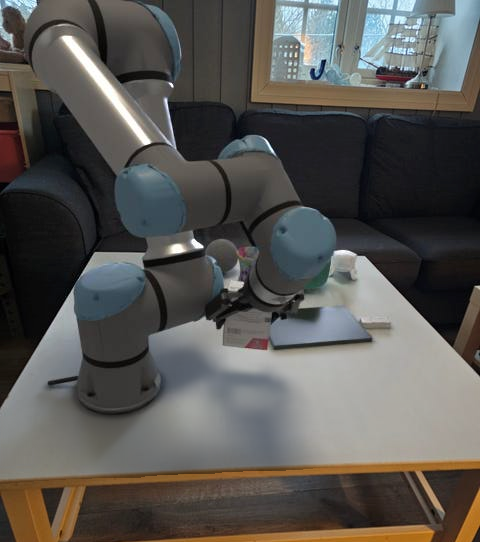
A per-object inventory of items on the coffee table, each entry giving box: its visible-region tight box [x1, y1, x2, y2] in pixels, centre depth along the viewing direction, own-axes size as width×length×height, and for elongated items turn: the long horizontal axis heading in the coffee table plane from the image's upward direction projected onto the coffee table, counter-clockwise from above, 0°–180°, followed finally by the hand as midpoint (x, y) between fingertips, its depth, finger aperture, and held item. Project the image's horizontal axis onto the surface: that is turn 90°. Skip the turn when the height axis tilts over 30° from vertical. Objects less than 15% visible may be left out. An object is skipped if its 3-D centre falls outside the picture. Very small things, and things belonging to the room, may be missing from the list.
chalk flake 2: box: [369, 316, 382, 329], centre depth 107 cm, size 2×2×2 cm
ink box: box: [221, 280, 272, 351], centre depth 80 cm, size 9×5×12 cm, turn 85°
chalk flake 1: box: [358, 317, 372, 329], centre depth 107 cm, size 2×2×2 cm
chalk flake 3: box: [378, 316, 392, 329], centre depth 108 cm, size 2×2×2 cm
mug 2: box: [303, 257, 332, 291], centre depth 124 cm, size 17×13×10 cm
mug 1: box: [236, 246, 260, 282], centre depth 121 cm, size 12×9×11 cm
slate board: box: [269, 305, 374, 350], centre depth 105 cm, size 24×16×1 cm, turn 103°
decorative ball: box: [205, 238, 239, 274], centre depth 128 cm, size 10×10×10 cm
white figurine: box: [328, 249, 358, 281], centre depth 132 cm, size 9×8×15 cm
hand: (242, 320), depth 84 cm, fingers closed on ink box, 9 cm apart
